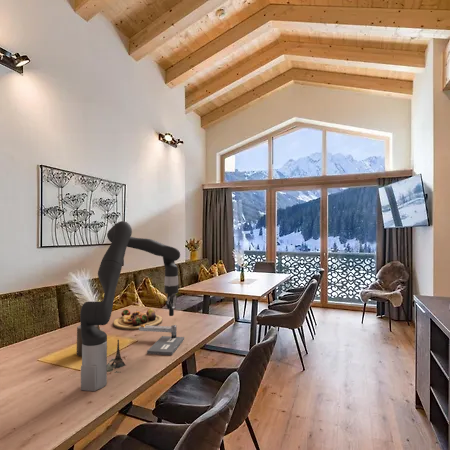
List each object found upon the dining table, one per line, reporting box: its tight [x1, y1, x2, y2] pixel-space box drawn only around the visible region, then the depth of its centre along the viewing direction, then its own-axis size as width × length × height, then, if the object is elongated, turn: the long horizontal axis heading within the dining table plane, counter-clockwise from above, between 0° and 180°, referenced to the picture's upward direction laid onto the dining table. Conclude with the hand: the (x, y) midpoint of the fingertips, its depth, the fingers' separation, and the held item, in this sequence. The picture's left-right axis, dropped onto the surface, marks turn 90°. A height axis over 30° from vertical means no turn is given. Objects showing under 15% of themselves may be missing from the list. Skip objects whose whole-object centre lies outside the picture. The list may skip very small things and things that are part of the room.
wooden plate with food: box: [112, 307, 163, 331], centre depth 209 cm, size 32×32×8 cm
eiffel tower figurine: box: [107, 339, 127, 374], centre depth 142 cm, size 15×10×13 cm
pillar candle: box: [75, 324, 99, 358], centre depth 157 cm, size 10×10×15 cm
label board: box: [146, 335, 185, 356], centre depth 165 cm, size 22×13×2 cm, turn 172°
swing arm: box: [138, 324, 177, 338], centre depth 176 cm, size 21×4×6 cm, turn 81°
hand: (171, 315), depth 170 cm, fingers closed
